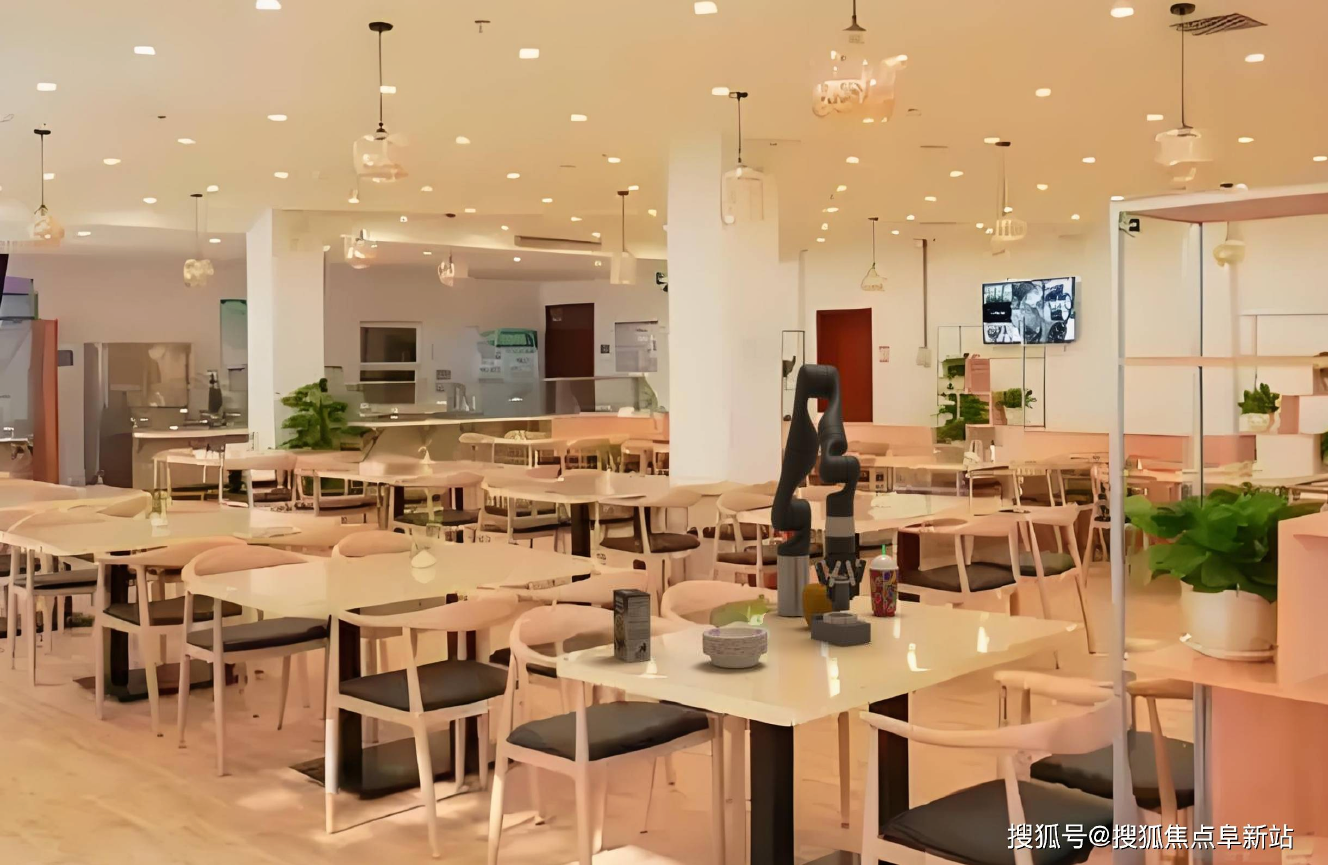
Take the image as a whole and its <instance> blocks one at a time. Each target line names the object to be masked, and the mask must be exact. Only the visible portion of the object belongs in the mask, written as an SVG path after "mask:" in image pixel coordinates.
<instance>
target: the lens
mask: <svg viewBox="0 0 1328 865" xmlns="http://www.w3.org/2000/svg"><path fill="white" fill-rule="evenodd" d="M833 587H834V601H832V610H835V611H840V612H847V611H850V609H851V602H850V601H851V600H850V578H848V577H847V576H844V575H837V577H836V579H835V581H834V584H833Z"/></svg>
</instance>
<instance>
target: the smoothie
mask: <svg viewBox="0 0 1328 865" xmlns="http://www.w3.org/2000/svg"><path fill="white" fill-rule="evenodd" d="M885 546H886V545H885V544H882V554H879V555H877V556H876V557H874V558H873V559H872V561H871V563H870V565H869V566H868V572H869V573H868V574H869V584H870V585H869V586H870V588H869V589H870V590H869V591H870V601H871V602H870V603H871V611H872V613H873V615H874V616H875V615H876V617H880V616H890V617H893V616H895V612H896V611H897V602H898V600H897V599H898V584H899V569H900V567H899V566H898V564H897V562H896V560H895V559H894V557H892V556H890V555H887V554H886V547H885Z"/></svg>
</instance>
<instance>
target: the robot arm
mask: <svg viewBox="0 0 1328 865" xmlns="http://www.w3.org/2000/svg"><path fill="white" fill-rule="evenodd" d="M841 388H842V387H841V378H840V373H839V371H838V369H837V368H836V367H835V366H833V365H827V364H815V363H814V364H813V363H803V364H802V365H800V367H799V369H798V372H797V377H796V384H795V391H794V397H793V398H794V399H793V400H794V401H793V407H792V408H793V409H792V414H791V415H792V416H791V420H790V426H789V431H788V435H787V439H786V444H785V449H784V455H783V461H782V467H781V472H780V478H779V480H778V484H777V488H776V491H775V495H774V499H773V501H772V506H771V511H770V521H771V522H770V523H771V526H772V529H774V530H775V531H776V532H793V534H792V536H791V537H790V538H788V539H787V540H786V541H785V540H784V541H783V542H781V543H778V545H777V547H776V569H777V570H776V571H777V575H776V577H777V578H776V579H777V580H776V583H777V584H776V586H777V587H776V588H777V590H776V591H777V595H776V596H777V599H776V600H777V602H776V603H777V606H776V607H777V612H776V613H777V615H778V616H780V615H781V616H780V617H787V616H802V617H805V616H804V612H803V607H802V592H803V589H804V587H805V586H806V585H808V584H811V582H810V576H811V575H810V574H811V572H810V570H811V569H810V548H811V541H812V538H811V537H812V517H813V516H812V508H811V504H810V501H809V500H807V499H805V498H793V497H794V493H795V492H796V490H797V488H799V485H800V484H801V483H802V482H803V481H804V480H805V479H806V478H807V476H809V475H810V473H811V472H812V471H813V469H814V468H815V466H816V464H817V460H818V456H819V451H820V460H819V465H818V475H819V478H820V479H821V481H823V482H824V483H826V484H844V486H843V488H841V490H838V491H835V492H830V493H829V494H827V495H826V498H825V516H826V517H825V523H824V524H825V525H824V528H825V529H824V539H825V541H824V543H825V544H824V545H825V549H824V550H825V555H824V558H823V559H821V560H819V561H818V560H816V561H814V562H813V565H814V570H815V573H816V577H817V581H818V583H820V584H823V585H825V586H826V597H827V599H828V600H829V601H831V602H832V601H834V587H833V584H834V581H835V579H836V577H837V576H838V575H841V574H843V576H847V577H848V578H850V601H853V600H854V598H855V596H856V595H855V594H856V593H855V591H856V588H855V587H856V585H857V584H861V583H862V581H863V579H864V573H865V570H866V565H867V560H866V559H862V558H859V559H858V558H857V557H856V555H855V552H856V525H855V517H854V515H855V512H854V510H855V508H854V506H855V505H854V504H855V501H854V500H855V495H856V489H857V485H858V483H859V479H860V475H861V470H862V469H861V468H862V466H861V463H860V461H859V459H858V457H856V456H854V455H845V454H846V453H847V451H848V449H849V445H848V444H849V443H848V439H847V435H846V432H845V426H844V419H843V405H842V404H843V403H842V389H841ZM810 399H819V400H821V399H822V400H826V399H827V401H828V403H827V404H828V405H827V406H826V407H827V408H826V409H825V411H824V413H823V414H822V415H821V417H820V418H819V421H818V425H817V429H816V427H815V425H814V422H813V421H812V418H811V416H810V412H809V409H808V406H809V405H808V404H809V400H810ZM825 566H826V567H827V569H828V570H827V573H826V574H825V571H824V570H825ZM854 566H855V567H856V569H855V573H854V572H853V567H854Z"/></svg>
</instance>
